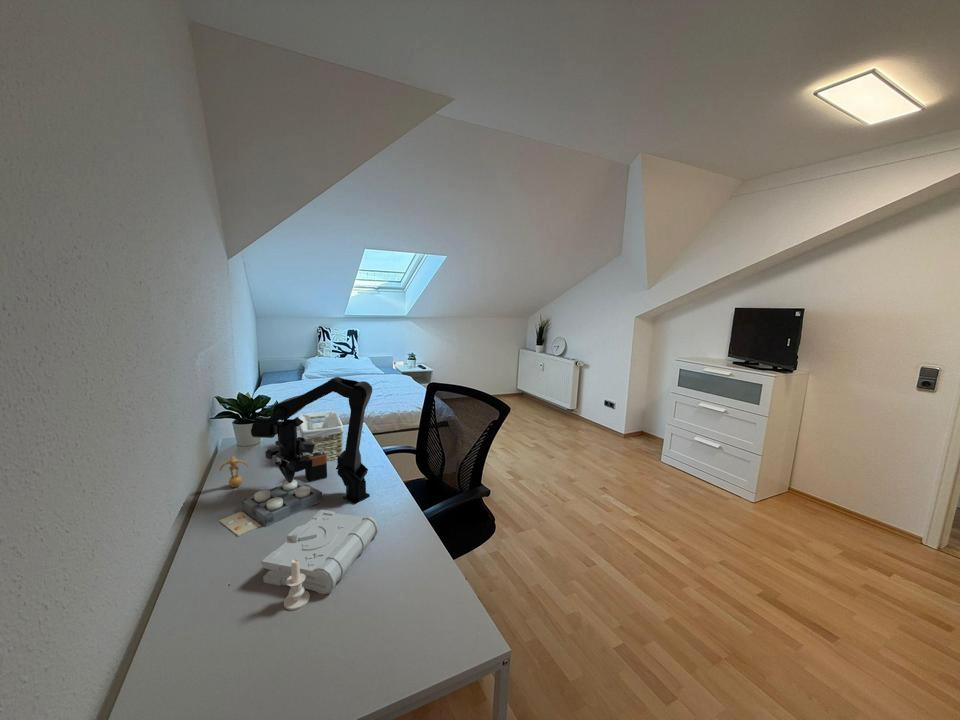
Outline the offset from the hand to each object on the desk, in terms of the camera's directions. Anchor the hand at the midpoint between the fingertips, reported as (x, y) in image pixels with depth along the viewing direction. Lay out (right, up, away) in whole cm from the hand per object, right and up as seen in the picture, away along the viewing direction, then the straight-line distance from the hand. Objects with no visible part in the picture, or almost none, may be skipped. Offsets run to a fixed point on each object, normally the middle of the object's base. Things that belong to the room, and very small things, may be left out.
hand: (290, 482), depth 128 cm
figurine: (-21, -4, +5) cm, 22 cm away
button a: (+6, -3, -4) cm, 8 cm away
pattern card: (-7, -7, -16) cm, 19 cm away
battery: (+3, -3, +14) cm, 14 cm away
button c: (+1, -4, -11) cm, 12 cm away
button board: (0, -6, -5) cm, 8 cm away
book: (+24, -11, -26) cm, 37 cm away
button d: (-5, -3, -7) cm, 9 cm away
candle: (+23, -13, -43) cm, 50 cm away
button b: (0, -2, 0) cm, 2 cm away
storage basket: (-5, +1, +36) cm, 37 cm away
